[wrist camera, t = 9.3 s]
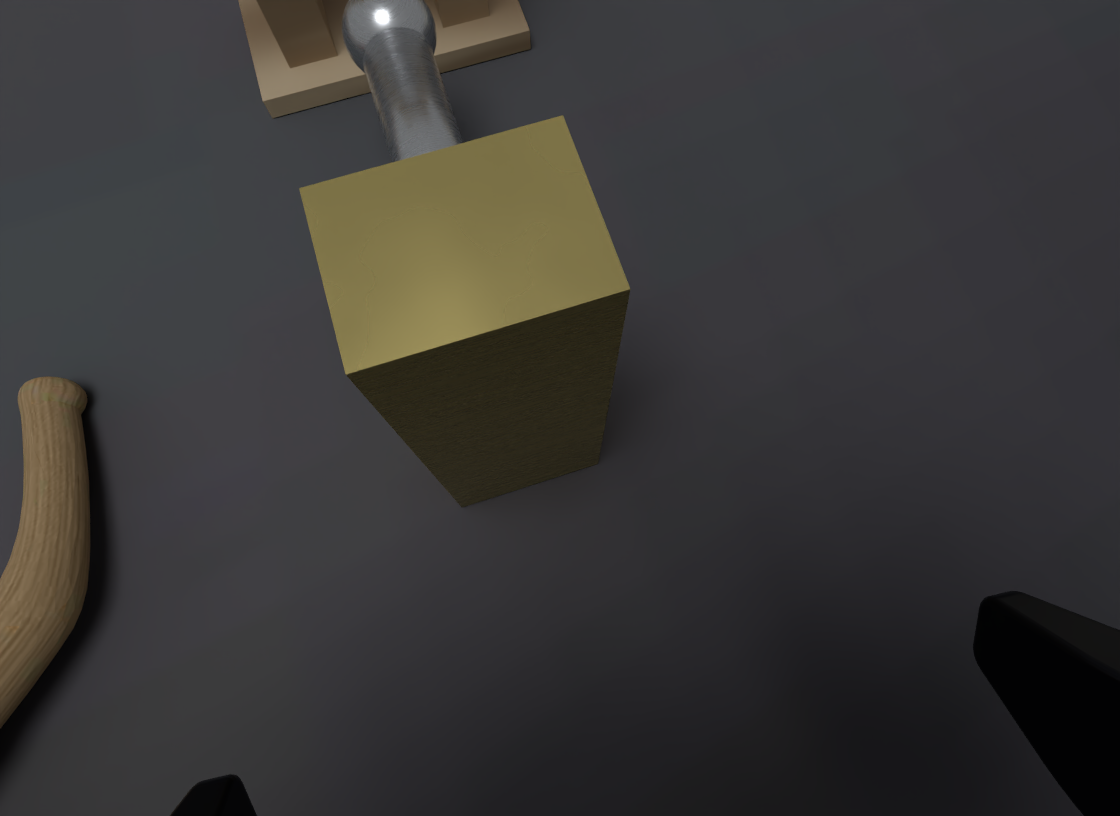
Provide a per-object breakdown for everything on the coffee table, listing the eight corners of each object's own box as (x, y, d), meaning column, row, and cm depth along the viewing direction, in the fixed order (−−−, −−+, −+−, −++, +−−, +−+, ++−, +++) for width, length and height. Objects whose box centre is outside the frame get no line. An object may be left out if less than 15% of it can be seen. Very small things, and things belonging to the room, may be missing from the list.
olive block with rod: (597, 463, 20) (630, 289, 10) (461, 507, 20) (346, 374, 10) (475, 108, 24) (402, -298, 13) (358, 140, 24) (189, -250, 13)
